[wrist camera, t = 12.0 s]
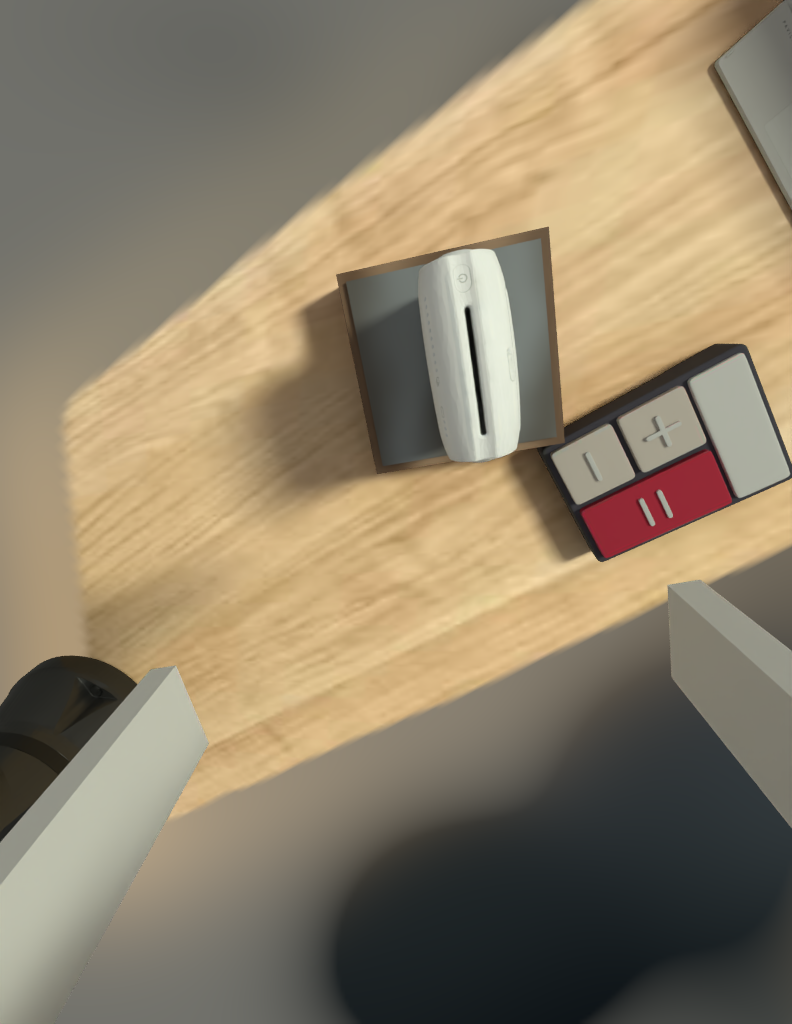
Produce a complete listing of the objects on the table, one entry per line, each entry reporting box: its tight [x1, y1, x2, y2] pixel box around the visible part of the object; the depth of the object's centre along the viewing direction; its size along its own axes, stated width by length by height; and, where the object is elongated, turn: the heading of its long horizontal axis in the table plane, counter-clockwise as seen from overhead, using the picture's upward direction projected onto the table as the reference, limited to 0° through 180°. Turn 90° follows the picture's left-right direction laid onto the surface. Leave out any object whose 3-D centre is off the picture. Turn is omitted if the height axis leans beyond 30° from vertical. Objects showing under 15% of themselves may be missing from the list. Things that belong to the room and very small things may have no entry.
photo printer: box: [418, 249, 520, 463], centre depth 26 cm, size 10×4×12 cm, turn 11°
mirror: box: [336, 227, 565, 474], centre depth 34 cm, size 14×14×4 cm
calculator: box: [537, 344, 792, 562], centre depth 36 cm, size 11×4×15 cm
